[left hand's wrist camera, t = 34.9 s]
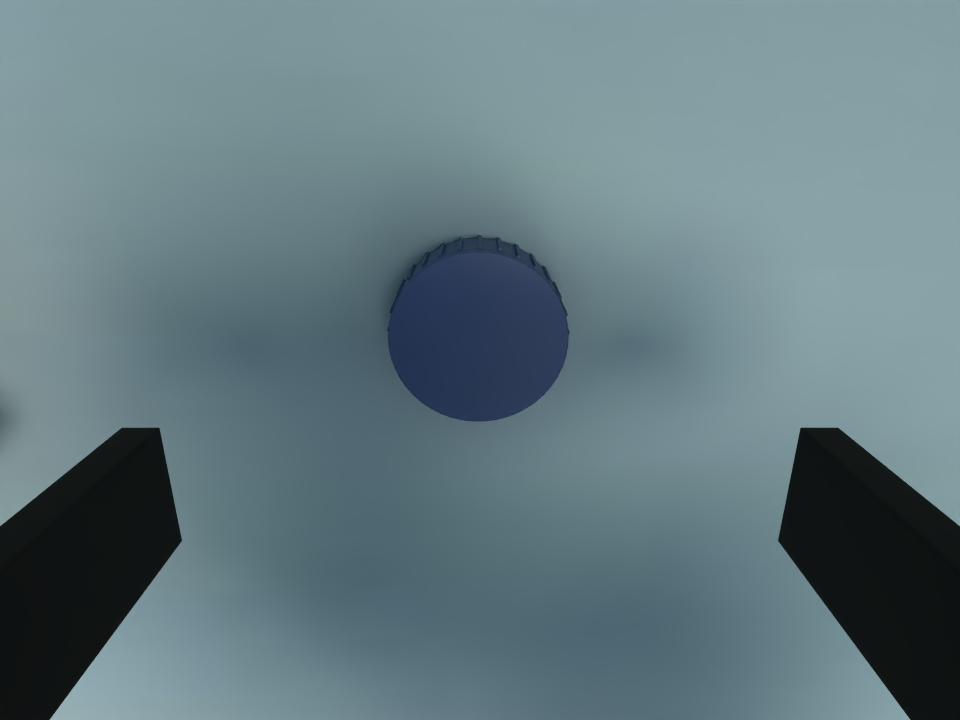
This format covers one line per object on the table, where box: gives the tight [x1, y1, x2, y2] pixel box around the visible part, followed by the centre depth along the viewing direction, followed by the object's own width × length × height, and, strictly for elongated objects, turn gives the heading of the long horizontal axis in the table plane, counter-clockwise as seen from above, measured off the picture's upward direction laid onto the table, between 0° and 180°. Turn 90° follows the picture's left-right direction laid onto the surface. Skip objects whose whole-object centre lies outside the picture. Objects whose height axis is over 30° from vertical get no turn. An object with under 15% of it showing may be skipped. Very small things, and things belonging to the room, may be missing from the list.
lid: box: [388, 236, 569, 421], centre depth 19 cm, size 6×6×2 cm
